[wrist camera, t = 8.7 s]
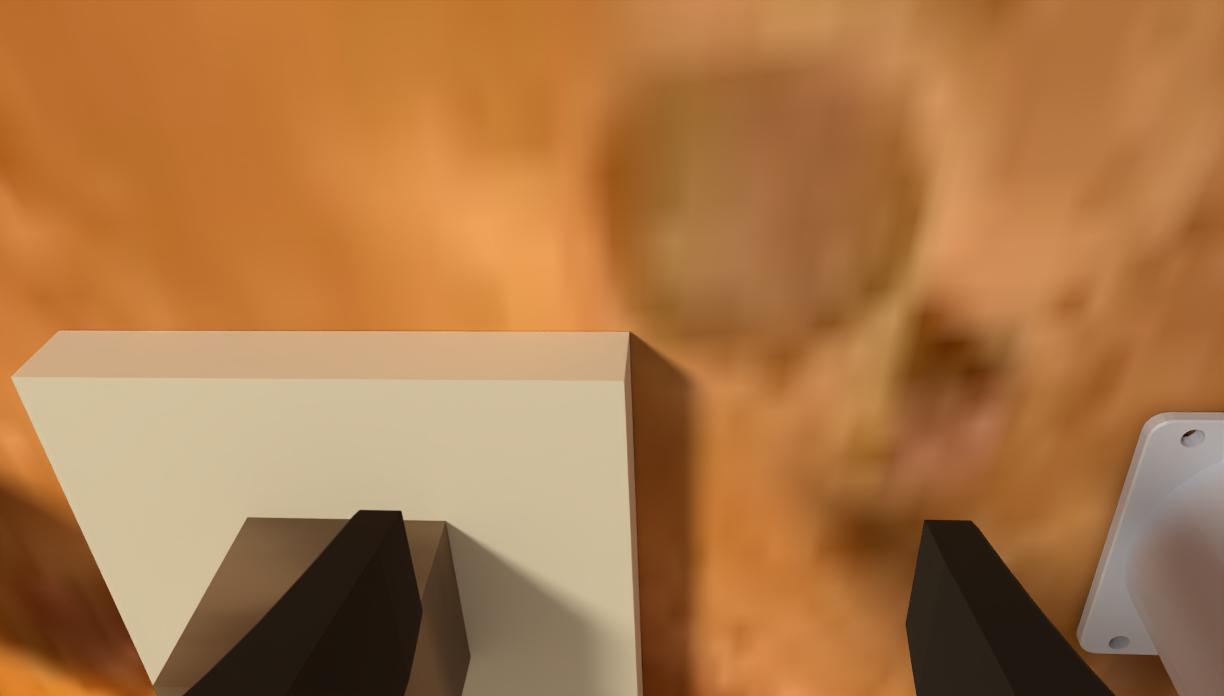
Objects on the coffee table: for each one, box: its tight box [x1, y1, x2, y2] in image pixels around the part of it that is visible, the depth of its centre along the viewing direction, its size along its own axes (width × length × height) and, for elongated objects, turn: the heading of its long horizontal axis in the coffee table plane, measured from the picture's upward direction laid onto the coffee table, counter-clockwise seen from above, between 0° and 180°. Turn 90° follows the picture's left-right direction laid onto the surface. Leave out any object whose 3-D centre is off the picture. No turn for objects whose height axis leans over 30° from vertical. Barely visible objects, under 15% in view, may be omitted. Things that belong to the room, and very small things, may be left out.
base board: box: [11, 331, 643, 696], centre depth 26 cm, size 14×14×2 cm
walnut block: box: [153, 517, 471, 696], centre depth 23 cm, size 5×5×5 cm
